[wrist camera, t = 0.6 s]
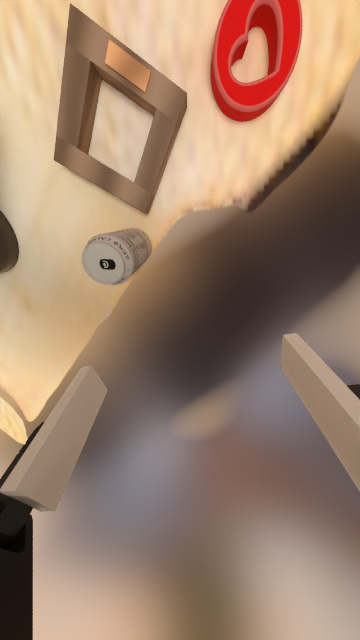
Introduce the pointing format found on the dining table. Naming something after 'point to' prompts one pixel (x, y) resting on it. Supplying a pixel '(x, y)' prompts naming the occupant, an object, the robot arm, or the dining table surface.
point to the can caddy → (81, 101)
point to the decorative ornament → (229, 45)
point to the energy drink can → (115, 255)
